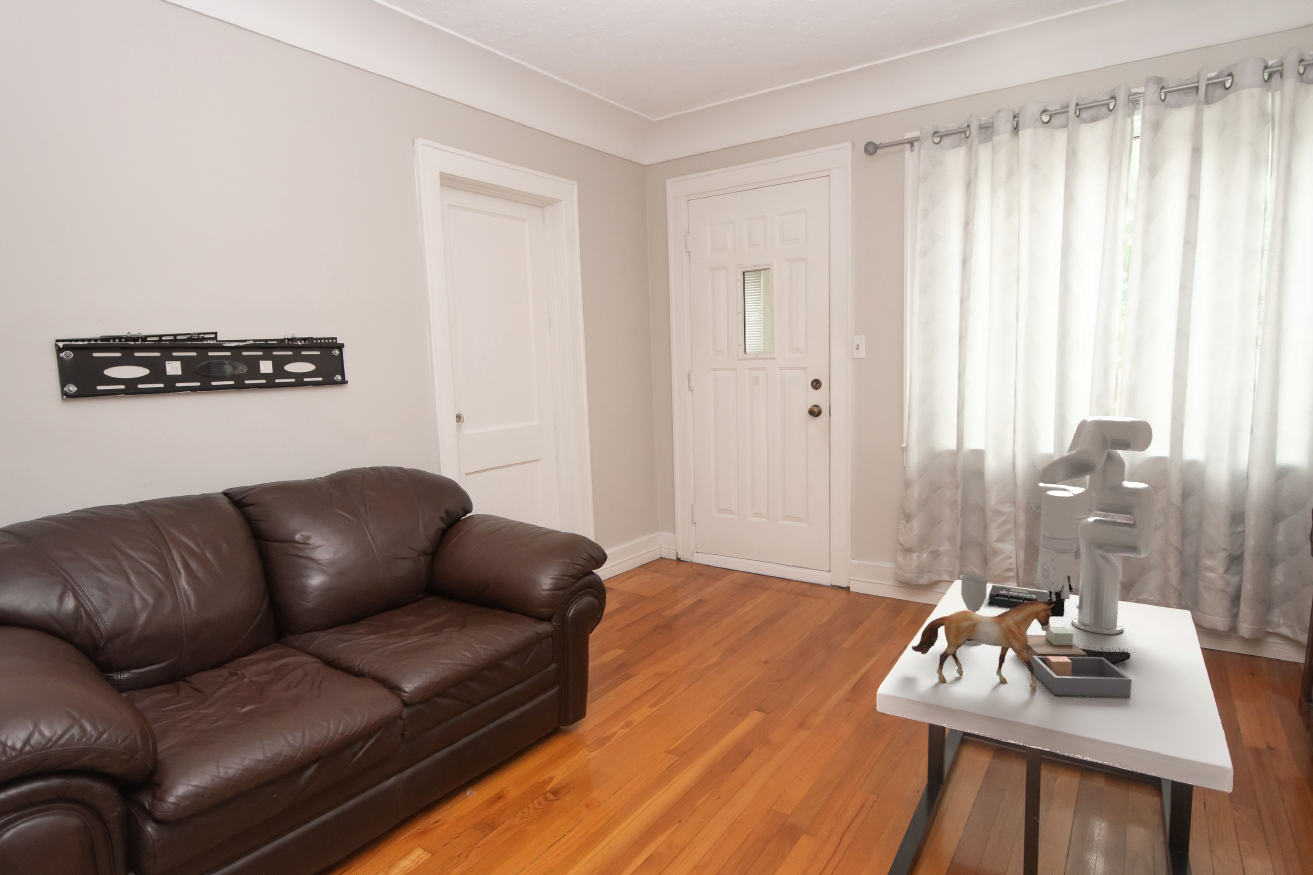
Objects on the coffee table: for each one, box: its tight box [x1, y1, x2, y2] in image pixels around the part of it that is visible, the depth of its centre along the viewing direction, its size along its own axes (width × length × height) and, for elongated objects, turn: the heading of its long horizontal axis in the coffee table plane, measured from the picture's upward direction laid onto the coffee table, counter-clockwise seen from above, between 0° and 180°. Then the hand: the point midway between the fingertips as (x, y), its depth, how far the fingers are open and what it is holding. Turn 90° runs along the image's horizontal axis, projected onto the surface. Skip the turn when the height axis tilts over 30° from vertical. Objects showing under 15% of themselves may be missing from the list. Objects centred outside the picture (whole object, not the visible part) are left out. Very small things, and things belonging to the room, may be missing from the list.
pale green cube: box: [1045, 626, 1074, 645], centre depth 180 cm, size 4×4×3 cm
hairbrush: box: [1076, 645, 1131, 666], centre depth 184 cm, size 8×4×25 cm
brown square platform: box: [1025, 634, 1087, 663], centre depth 178 cm, size 12×12×5 cm
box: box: [1032, 656, 1132, 699], centre depth 166 cm, size 12×16×4 cm
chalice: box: [959, 573, 990, 646], centre depth 192 cm, size 7×7×18 cm
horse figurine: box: [911, 600, 1054, 692], centre depth 168 cm, size 31×8×21 cm, turn 72°
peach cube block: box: [1046, 656, 1072, 677], centre depth 169 cm, size 4×4×3 cm
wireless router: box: [988, 584, 1049, 609], centre depth 220 cm, size 20×14×17 cm
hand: (1055, 615), depth 172 cm, fingers closed
